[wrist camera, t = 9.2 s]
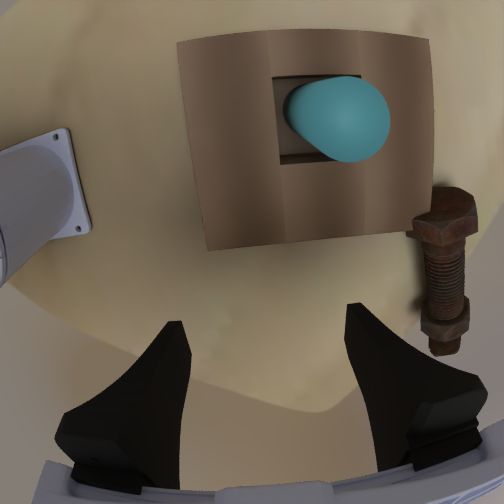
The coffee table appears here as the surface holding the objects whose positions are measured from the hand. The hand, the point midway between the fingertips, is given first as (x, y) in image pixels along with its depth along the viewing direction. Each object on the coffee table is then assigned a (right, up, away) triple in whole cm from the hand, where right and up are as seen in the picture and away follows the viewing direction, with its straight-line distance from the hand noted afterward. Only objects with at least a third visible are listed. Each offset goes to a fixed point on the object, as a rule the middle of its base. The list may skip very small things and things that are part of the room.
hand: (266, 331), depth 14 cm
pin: (+3, +12, +4) cm, 13 cm away
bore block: (+3, +11, +5) cm, 13 cm away
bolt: (+14, +2, +10) cm, 18 cm away
